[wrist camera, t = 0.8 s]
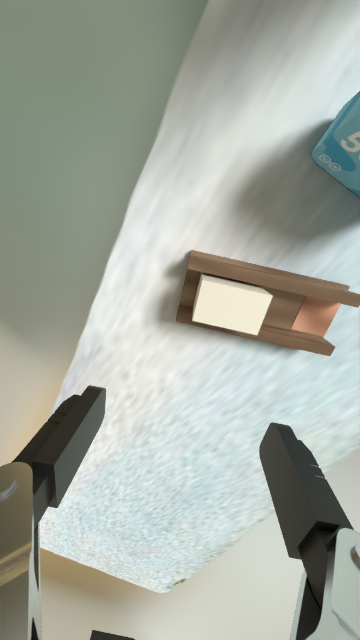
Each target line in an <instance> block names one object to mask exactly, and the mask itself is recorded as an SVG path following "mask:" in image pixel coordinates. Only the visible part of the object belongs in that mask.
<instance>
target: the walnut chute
mask: <svg viewBox="0 0 360 640" xmlns="http://www.w3.org/2000/svg"><path fill="white" fill-rule="evenodd" d="M201 272H203V273H207V274H211V275H216V276H220V277H225V278H229V279H233V280H238V281H242V282H247V283H251V284H255V285H258V286H260V287H261V288H263V289H264V290H265V291H267V292H268V293H270V294H271V295H272V296H273V297H272V299H271V302H270V304H269V307H268V309H267V312H266V314H265V317H264V320H263V322H262V325H261V327H260V330H259V332H258V335H253V334H249V333H244V332H240V331H236V330H231V329H227V328H222V327H218V326H213V325H209V324H205V323H200V322H196V321H192V317H193V305H194V301H195V297H196V293H197V289H198V285H199V281H200V277H201ZM349 287H350V286H347V285H343V284H339V283H334V282H330V281H326V280H321V279H317V278H313V277H308V276H304V275H299V274H295V273H291V272H286V271H282V270H277V269H273V268H269V267H264V266H260V265H255V264H251V263H247V262H242V261H238V260H234V259H229V258H225V257H220V256H216V255H212V254H207V253H203V252H198V251H194V250H192V251H191V255H190V258H189V263H188V267H187V274H186V278H185V283H184V287H183V292H182V296H181V301H180V305H179V309H178V313H177V317H176V321H177V322H181V323H186V324H190V325H195V326H199V327H203V328H208V329H212V330H217V331H221V332H225V333H230V334H234V335H239V336H243V337H247V338H252V339H256V340H261V341H265V342H269V343H274V344H278V345H283V346H287V347H291V348H296V349H300V350H305V351H309V352H314V353H318V354H322V355H327V356H330V355H331V354H332V352H333V350H334V348H335V346H333V345H332V344H331V343H329V342H328V341H327V340H326V339H324V338H323V336H324V335H325V333H326V331H327V329H328V327H329V326H330V324H331V322H332V320H333V318H334V316H335V314H336V312H337V311H338V309H339V307H340V305H341V304H345V305H349V306H354V307H359V305H360V294H356V293H353V292H350V291H348V289H349Z"/></svg>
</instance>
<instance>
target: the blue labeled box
mask: <svg viewBox="0 0 360 640" xmlns="http://www.w3.org/2000/svg"><path fill="white" fill-rule="evenodd" d="M312 158H313V160H314V161H315V162H316V163H317V164H318V165H319V166H320V167H322V168H323V169H324V170H325V171H327V172H328V173H329V174H330V175H332V176H333V177H334V178H335V179H337V180H338V181H339V182H341V183H342V184H343V185H344V186H346V187H347V188H348V189H349V190H351V191H352V192H353V193H354V194H356V195H357V196H358V197H360V91H359V92H358V93H357V94H356V95H355V96H354V97H353V98H352V99H351V100H350V101H348V102H347V103H346V104H345V105H344V106H343V108H342V109H341V110H340V112H339V113H338V115H337V116H336V118H335V119H334V120H333V122H332V123H331V125H330V126H329V128H328V129H327V131H326V132H325V133H324V135H323V136H322V138H321V139H320V141H319V142H318V143H317V145H316V146H315V148H314V149H313V151H312Z"/></svg>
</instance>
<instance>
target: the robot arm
mask: <svg viewBox="0 0 360 640" xmlns="http://www.w3.org/2000/svg"><path fill="white" fill-rule="evenodd" d="M105 400H106V389H105V388H101V387H96V386H91V385H89V386H88V387H87V388H86V390H85V391H84V392H83V393H82V395H81V396H80V395H75V394H74V395H73V396H71V397H70V398H68V399H67V400H65V401H64V402H63V403H62V404H61V405H60V406H59V407H58V409H57V410H56V411H55V413H54V414H52V416H51V417H50V418H49V419H48V421H47V422H46V423H45V424H44V425H43V426H42V428H41V429H40V430H39V431H38V432H37V434H36V435H35V436H34V437H33V438H32V440H31V441H30V442H29V443H28V444H27V446H26V447H25V448H24V449H23V450H22V451H21V453H20V454H19V455H18V456H17V457H16V458H15V459H14V461H12V462H11V463H9V464H6V465H3V466H1V467H0V640H42V615H41V599H40V533H39V521H40V520H41V518H42V516H43V514H44V513H45V511H46V509H47V507H48V506H49V507H54V508H58V506H59V504H60V502H61V500H62V499H63V497H64V495H65V493H66V491H67V489H68V487H69V485H70V483H71V481H72V479H73V478H74V476H75V474H76V472H77V470H78V468H79V466H80V464H81V462H82V460H83V458H84V457H85V455H86V453H87V451H88V449H89V447H90V445H91V443H92V441H93V439H94V437H95V436H96V434H97V432H98V430H99V428H100V426H101V424H102V421H103V418H104V414H105ZM259 452H260V459H261V463H262V466H263V470H264V473H265V477H266V480H267V483H268V487H269V490H270V494H271V497H272V500H273V504H274V507H275V511H276V514H277V517H278V521H279V524H280V528H281V531H282V534H283V538H284V541H285V545H286V548H287V552H288V555H289V557H291V558H296V559H301V560H302V562H303V565H304V568H305V570H304V572H303V574H302V579H301V583H300V589H299V594H298V599H297V605H296V609H295V615H294V620H293V625H292V630H291V635H290V640H360V534H359V533H358V532H356V531H354V529H353V527H352V526H351V524H350V522H349V520H348V519H347V517H346V515H345V513H344V511H343V509H342V508H341V506H340V504H339V502H338V500H337V498H336V497H335V495H334V493H333V491H332V489H331V487H330V486H329V484H328V482H327V480H325V476H324V475H323V473H322V471H321V469H320V468H319V467H318V466H319V465H318V464H317V462H316V460H315V458H314V456H313V454H312V453H311V451H310V450H309V449H308V448H307V447H306V446H305V445H304V443H303V442H302V441H301V440H297V438H296V436H295V434H294V432H293V430H292V429H291V427H290V426H288V425H283V424H278V423H273V422H272V423H270V425H269V427H268V429H267V431H266V433H265V435H264V438H263V440H262V442H261V444H260V450H259ZM90 640H135V639H133V638H128V637H124V636H119V635H115V634H110V633H104V632H100V631H95V630H92V634H91V638H90Z"/></svg>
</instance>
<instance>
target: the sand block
mask: <svg viewBox="0 0 360 640" xmlns="http://www.w3.org/2000/svg"><path fill="white" fill-rule="evenodd" d="M272 297H273V296H272V295H271V294H270V293H268V292H267V291H265V290H264V289H263V288H261V287H260V286H258V285H255V284H251V283H247V282H242V281H238V280H233V279H229V278H225V277H220V276H216V275H211V274H207V273H203V272H201V277H200V281H199V285H198V289H197V293H196V297H195V301H194V305H193V317H192V321H196V322H200V323H205V324H209V325H213V326H218V327H222V328H227V329H231V330H236V331H240V332H244V333H249V334H253V335H258V332H259V330H260V327H261V325H262V322H263V320H264V317H265V314H266V312H267V309H268V307H269V304H270V302H271V299H272Z"/></svg>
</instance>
